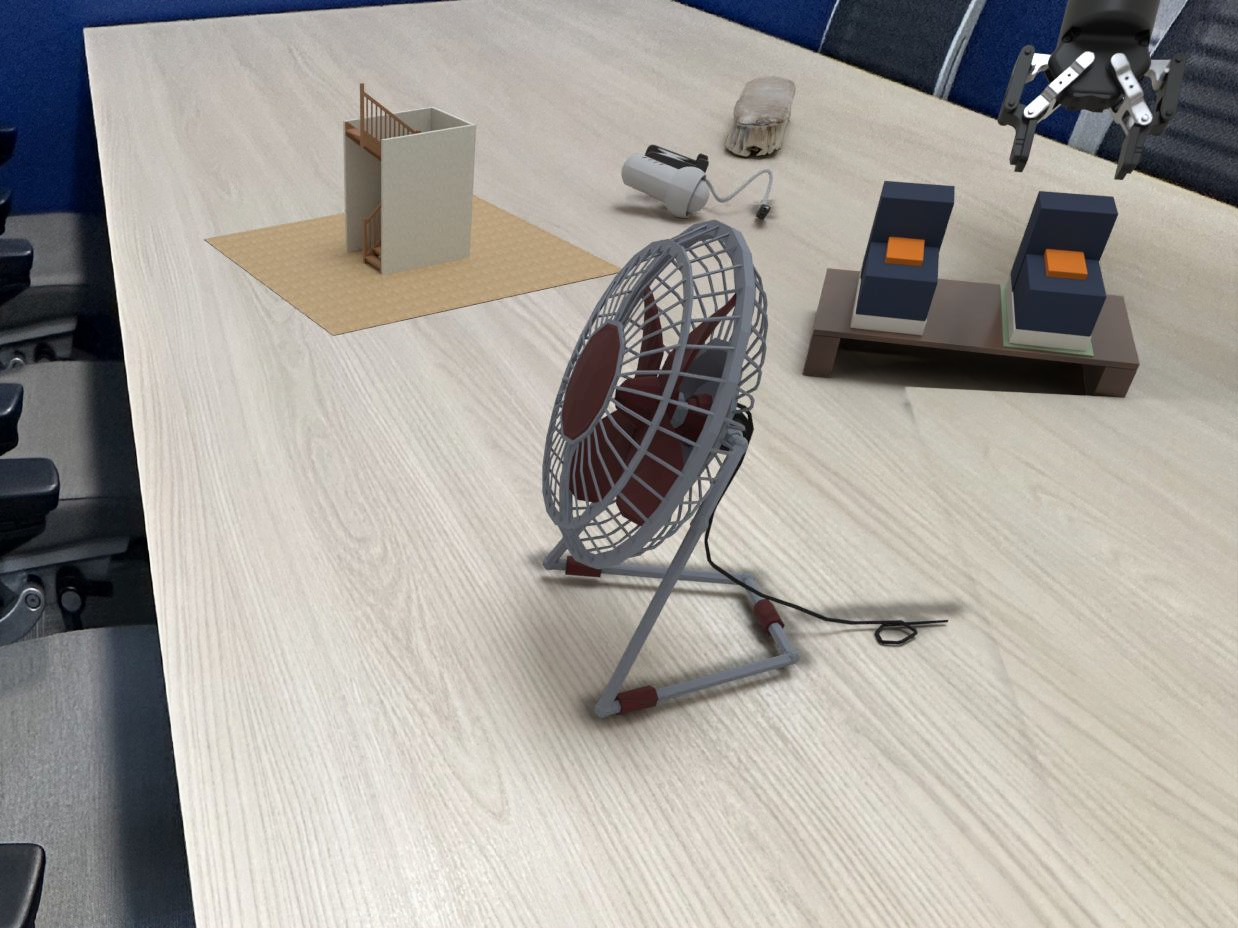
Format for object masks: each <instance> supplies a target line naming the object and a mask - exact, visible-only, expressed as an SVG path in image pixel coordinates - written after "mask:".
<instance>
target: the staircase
mask: <svg viewBox="0 0 1238 928" xmlns="http://www.w3.org/2000/svg"><path fill="white" fill-rule="evenodd" d="M369 102H370V116H369ZM374 106H375V115H374V108H373V107H374ZM378 108H379V114H378ZM365 112H366V113H365ZM383 112H384V113H383ZM342 126H343V127H342V128H343V129H342V135H343V136H342V137H343V138H342V139H343V180H344V181H343V182H344V183H343V185H344V186H343V187H344V189H343V190H344V191H343V192H344V212H343V213H344V248H345V251H346V252H347V253H348V252H353V251H358V250H362V262H363V263H364V264H367V263H369V264H371V265H372V266H374V267H376V268H377V269H379V273H380V274H382V275H388V274H393V273H398V272H402V271H406V270H412V269H417V268H422V267H427V266H432V265H437V264H440V263H445V262H450V261H455V260H460V259H465V258H470V257H471V243H472V223H473V203H474V195H475V194H474V182H475V181H474V178H475V159H476V142H477V141H476V139H477V124H475V123H473V122H471V121H468V120H466V119H464V118H462V117H459V116H458V115H457V116H456V115H455V114H452V113H450V112H448V111H445V110H443V109H440V108H438V107H436V106H427V107H420V108H414V109H409V110H402V111H401V110H400V111H395V112H392V111H391V110H389V109H388V108H387V107H386V106H384V105H382V104H381V103H380V102H378V101H377V99H375V98H373V97H372V96H371V95H369V94H368V93H367V92H366V91H365V83H364V82H360V83H359V117H358V118H352V119H345V120H342Z"/></svg>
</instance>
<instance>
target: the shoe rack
mask: <svg viewBox="0 0 1238 928" xmlns="http://www.w3.org/2000/svg"><path fill="white" fill-rule="evenodd" d="M859 274H860V270H853V269H852V270H850V269H841V268H840V269H839V268H830V267H827V268H826V272H825V276H824V281H823V284H822V289H821V293H820V296H819V301H818V305H817V309H816V313H815V317H814V322H813V327H812V330H811V334H810V340H809V344H808V349H807V352H806V356H805V361H804V366H803V370H802V375H804V376H811V377H812V376H813V377H819V378H820V377H821V378H831V376H832V373H833V368H834V365H835V360H836V356H837V352H838V349H839V345H840V342H841V339H850V340H859V341H868V342H877V343H887V344H896V345H905V346H915V347H922V348H923V347H925V348H931V349H943V350H952V351H960V352H970V353H979V354H988V355H997V356H1005V357H1007V356H1008V357H1015V358H1025V359H1035V360H1042V361H1053V362H1061V363H1070V364H1079V365H1081V364H1082V365H1081V369H1082V368H1083V372H1082V377H1084V378H1083V382H1085V384H1084V391H1085V396H1086V395H1087V396H1086V397H1101V398H1103V397H1104V398H1123V399H1125V398H1126V397H1127V394H1128V391H1130V387H1131V385H1132V383H1133V381H1134V378H1135V376H1136V374H1137V372H1138V369H1139V367H1140V365H1141V363H1140V359H1139V355H1138V351H1137V347H1136V342H1135V338H1134V336H1133V331H1132V326H1131V323H1130V322H1131V321H1130V317H1129V313H1128V310H1127V306H1126V302H1125V298H1124V296H1123V295H1115V294H1106V296H1107V297H1106V300H1105V302H1104V305H1103V307H1102V310H1101V312H1100V314H1099V317H1098V319H1097V322H1096V324H1095V327H1094V329H1093V332H1092V334H1091V340H1090V342H1089V345H1088V347H1087V350H1086V351H1077V350H1068V349H1058V348H1049V347H1039V346H1030V345H1021V344H1011V343H1009V332H1008V316H1007V300H1006V284H1000V283H999V284H998V283H988V282H977V281H969V280H968V281H967V280H956V279H945V278H938V283H937V286H936V290H935V293H934V296H933V299H932V303H931V306H930V309H929V312H928V315H927V323H926V326H925V329H924V332H923V335H922V336H921V335H911V334H902V333H892V332H883V331H874V330H864V329H855V328H851V321H852V315H853V309H854V304H855V298H856V292H857V286H858V280H859ZM1085 388H1086V389H1085Z"/></svg>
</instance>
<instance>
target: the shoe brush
mask: <svg viewBox="0 0 1238 928" xmlns="http://www.w3.org/2000/svg"><path fill="white" fill-rule="evenodd" d="M795 95H796V84H795V82H794V81H792V80H791V79H789V78H784V77H780V76H774V75H773V76H772V75H766V76H761V77H756V78H753V79H751V80H750V81H747V82H746V84H744V87H743V89H742V91H741V93H740V95H739V98H738V99H737V100H736V101H735V104H734V106H733V113H732V114H733V124H732V126H731V129H730V131H729V134H728V136H727V139H726V141H725V143H724V144H725V145H724V146H725V147H726V149H728V151H730V152H732V153H733V154H735V155H737V156H742V157H749V156H750V155H751V154H752V151H754V152H758V151H759V149H760V151H759V152H758V153H756V156H757V157H758V156H765V155H767V153H768V155H771V154H772V153H774V150H776V151H778V150H779V149H781V146H782V144H783V140H784V136H785V130H786V128H787V127H788V123H789V122H790V119H791V117H792V106H793V101H794V99H795ZM753 147H754V148H753Z"/></svg>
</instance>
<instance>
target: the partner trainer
mask: <svg viewBox="0 0 1238 928" xmlns="http://www.w3.org/2000/svg"><path fill="white" fill-rule="evenodd" d="M955 189H956V187H955V185H946V184H945V185H944V184H933V183H932V184H931V183H921V182H920V183H919V182H906V181H895V180H894V181H893V180H884V181H883V184H882V188H881V191H880V195H879V200H878V203H877V207H876V211H875V214H874V218H873V222H872V226H871V229H870V233H869V237H868V240H867V245H866V248H865V252H864V256H863V260H862V263H861V267H860V270H859V271H860V274H859V280H858V286H857V292H856V298H855V304H854V309H853V315H852V321H851V328H855V329H864V330H874V331H883V332H892V333H902V334H911V335H921V336H922V335H923V332H924V329H925V326H926V323H927V315H928V312H929V309H930V306H931V303H932V299H933V296H934V293H935V290H936V286H937V283H938V279H939V263H940V251H941V248H942V245H943V241H944V239H945V236H946V235H945V234H946V232H947V229H948V225H949V223H950V218H951V216H952V212H953V208H954V206H955Z"/></svg>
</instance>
